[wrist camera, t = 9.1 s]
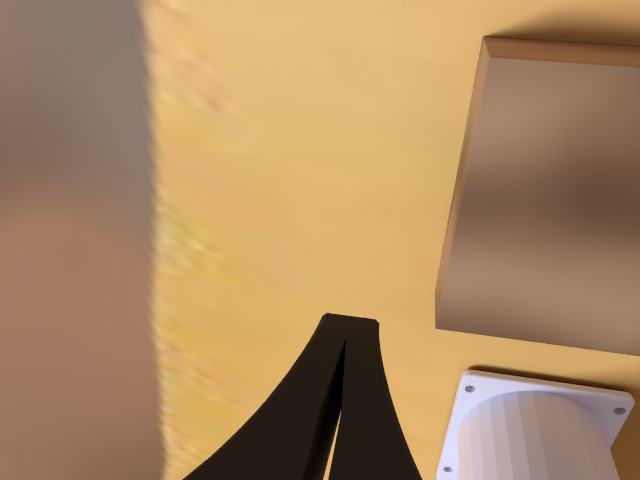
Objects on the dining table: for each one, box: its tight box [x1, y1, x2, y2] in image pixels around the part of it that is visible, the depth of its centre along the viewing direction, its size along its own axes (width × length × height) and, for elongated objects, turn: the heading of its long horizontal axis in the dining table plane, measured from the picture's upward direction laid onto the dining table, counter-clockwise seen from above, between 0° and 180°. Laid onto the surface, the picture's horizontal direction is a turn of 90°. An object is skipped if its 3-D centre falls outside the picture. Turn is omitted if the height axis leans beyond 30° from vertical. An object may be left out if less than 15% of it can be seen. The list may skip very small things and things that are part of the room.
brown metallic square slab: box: [435, 37, 640, 356], centre depth 19 cm, size 11×11×2 cm
